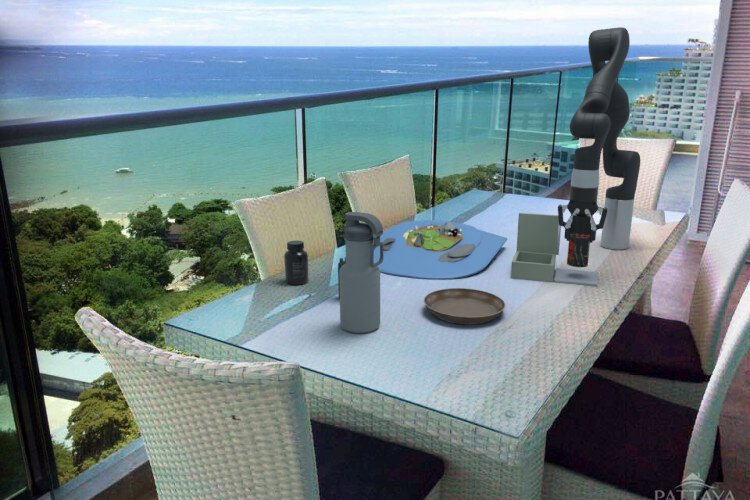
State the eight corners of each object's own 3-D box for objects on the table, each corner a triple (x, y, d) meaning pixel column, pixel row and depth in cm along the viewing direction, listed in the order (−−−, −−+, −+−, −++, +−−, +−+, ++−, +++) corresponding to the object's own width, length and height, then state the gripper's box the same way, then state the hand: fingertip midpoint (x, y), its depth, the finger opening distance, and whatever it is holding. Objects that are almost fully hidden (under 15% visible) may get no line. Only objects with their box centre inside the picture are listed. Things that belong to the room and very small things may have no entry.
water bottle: (388, 322, 157) (388, 211, 149) (371, 337, 148) (370, 221, 141) (351, 316, 161) (349, 208, 153) (333, 330, 153) (330, 216, 145)
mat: (556, 269, 196) (556, 267, 196) (597, 273, 192) (597, 271, 192) (554, 282, 185) (554, 280, 185) (597, 286, 182) (597, 284, 181)
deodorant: (589, 267, 184) (593, 217, 180) (567, 266, 185) (572, 216, 181) (586, 261, 190) (591, 212, 186) (566, 260, 191) (570, 212, 187)
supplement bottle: (312, 279, 188) (311, 240, 185) (302, 286, 182) (301, 246, 179) (291, 276, 191) (290, 238, 187) (281, 284, 184) (279, 244, 181)
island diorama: (464, 305, 183) (464, 266, 178) (338, 279, 203) (334, 243, 198) (514, 246, 218) (515, 212, 213) (402, 229, 239) (401, 198, 234)
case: (515, 265, 201) (519, 212, 196) (557, 268, 197) (562, 215, 192) (510, 277, 189) (514, 222, 184) (555, 282, 185) (559, 225, 180)
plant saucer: (486, 295, 175) (487, 284, 174) (518, 325, 156) (519, 312, 155) (414, 302, 171) (414, 290, 170) (437, 332, 152) (438, 319, 151)
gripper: (611, 183, 182) (605, 240, 187) (559, 180, 187) (554, 236, 191) (611, 188, 175) (605, 246, 180) (557, 185, 180) (553, 242, 185)
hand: (579, 241), depth 186 cm, fingers closed on deodorant, 6 cm apart
